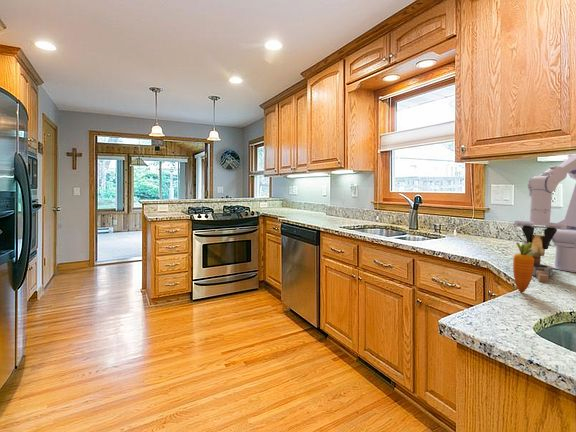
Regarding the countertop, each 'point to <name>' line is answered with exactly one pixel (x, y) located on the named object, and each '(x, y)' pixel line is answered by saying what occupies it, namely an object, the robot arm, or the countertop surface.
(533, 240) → the peg
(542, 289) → the countertop surface
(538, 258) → the food container
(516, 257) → the carrot
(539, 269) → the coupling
